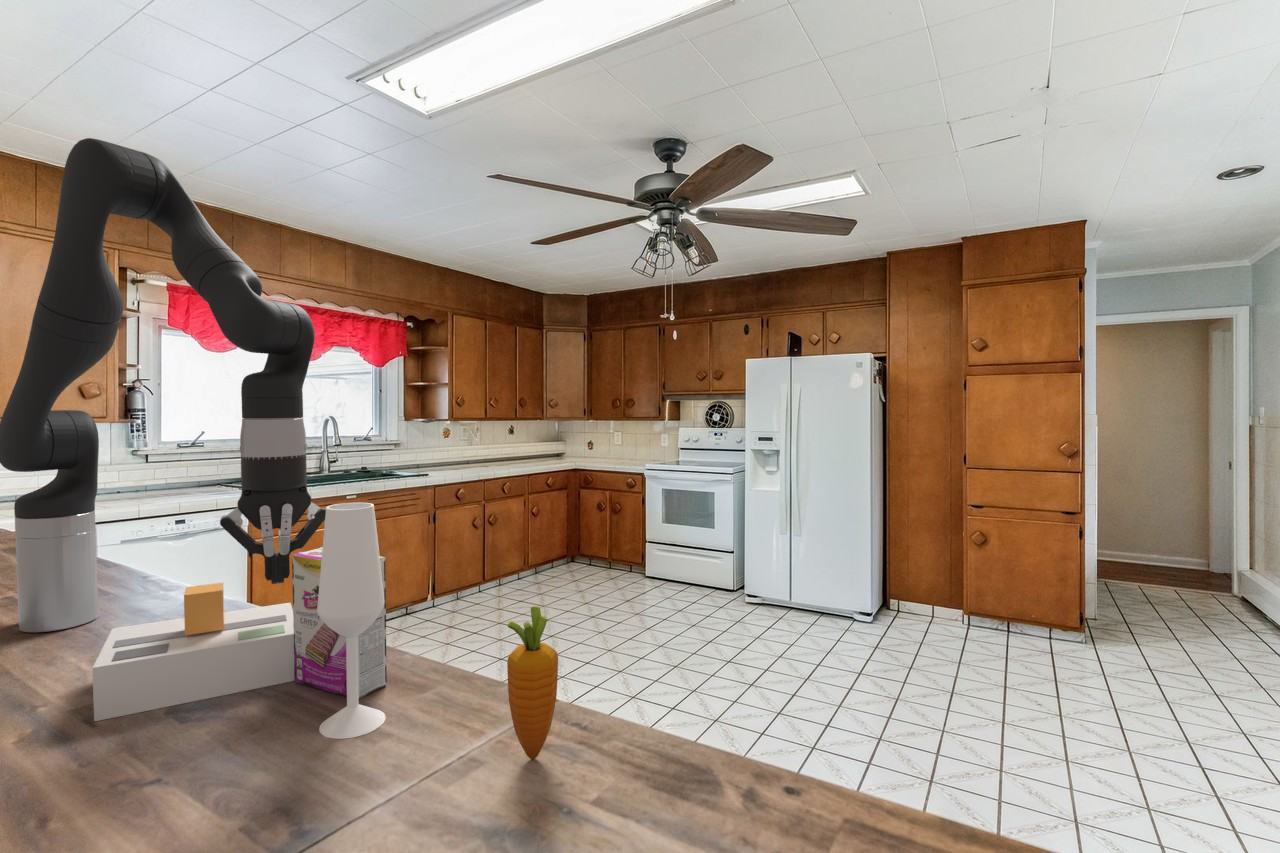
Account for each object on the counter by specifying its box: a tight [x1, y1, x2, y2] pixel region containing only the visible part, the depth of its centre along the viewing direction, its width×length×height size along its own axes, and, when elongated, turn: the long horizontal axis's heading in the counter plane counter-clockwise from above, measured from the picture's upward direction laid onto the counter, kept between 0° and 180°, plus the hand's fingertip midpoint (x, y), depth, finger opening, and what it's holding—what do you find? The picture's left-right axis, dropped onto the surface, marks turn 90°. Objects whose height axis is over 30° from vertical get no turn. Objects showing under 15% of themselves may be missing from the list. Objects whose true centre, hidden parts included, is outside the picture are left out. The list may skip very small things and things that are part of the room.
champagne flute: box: [317, 502, 386, 740], centre depth 70 cm, size 7×7×24 cm
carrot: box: [506, 605, 559, 761], centre depth 63 cm, size 5×5×15 cm
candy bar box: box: [291, 546, 388, 700], centre depth 79 cm, size 11×5×16 cm, turn 65°
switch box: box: [92, 602, 295, 722], centre depth 81 cm, size 14×20×6 cm
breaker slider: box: [183, 582, 225, 636], centre depth 81 cm, size 4×4×5 cm
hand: (277, 582), depth 85 cm, fingers closed
